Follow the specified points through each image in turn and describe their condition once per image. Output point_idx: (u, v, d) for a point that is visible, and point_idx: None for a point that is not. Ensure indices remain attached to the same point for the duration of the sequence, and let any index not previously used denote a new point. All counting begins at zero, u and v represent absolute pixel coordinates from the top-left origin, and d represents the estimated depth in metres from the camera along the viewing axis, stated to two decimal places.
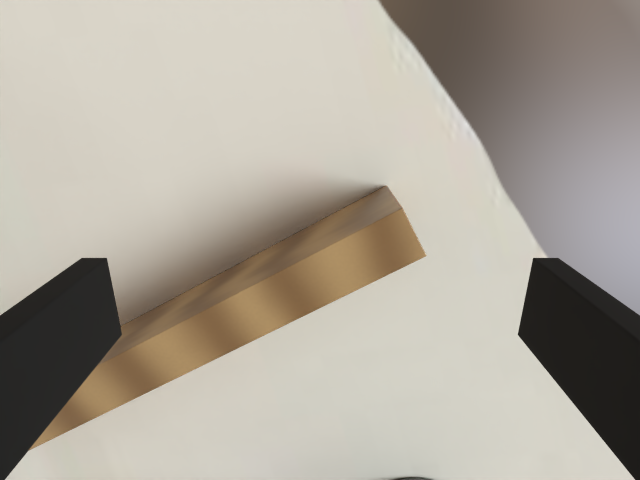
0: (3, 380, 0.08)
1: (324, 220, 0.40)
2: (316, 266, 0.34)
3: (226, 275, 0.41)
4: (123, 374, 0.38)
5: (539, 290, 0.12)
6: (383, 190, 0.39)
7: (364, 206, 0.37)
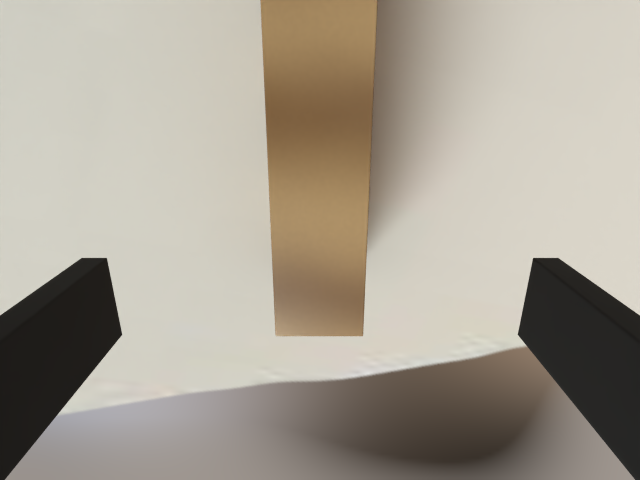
0: (3, 380, 0.08)
1: None
2: (344, 182, 0.19)
3: None
4: None
5: (539, 290, 0.12)
6: None
7: None
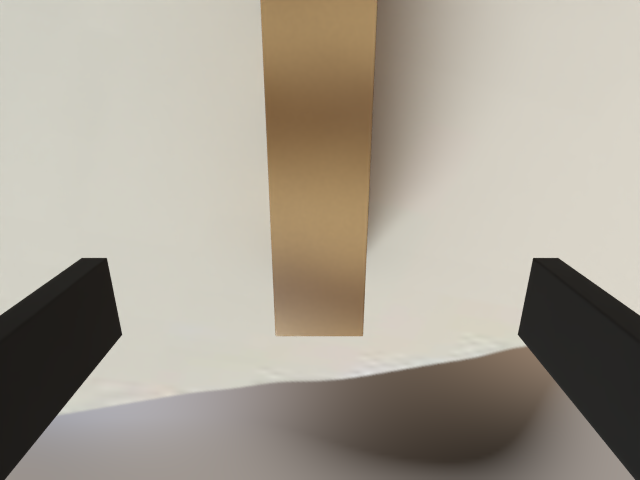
0: (3, 380, 0.08)
1: None
2: (344, 182, 0.19)
3: None
4: None
5: (539, 290, 0.12)
6: None
7: None
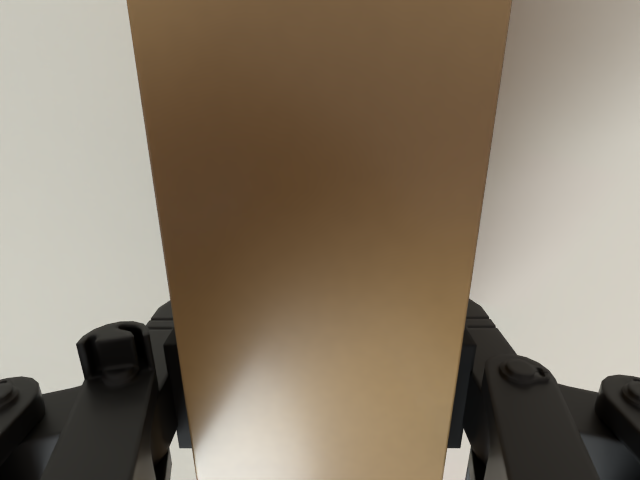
0: None
1: None
2: (391, 350, 0.07)
3: None
4: None
5: None
6: None
7: None
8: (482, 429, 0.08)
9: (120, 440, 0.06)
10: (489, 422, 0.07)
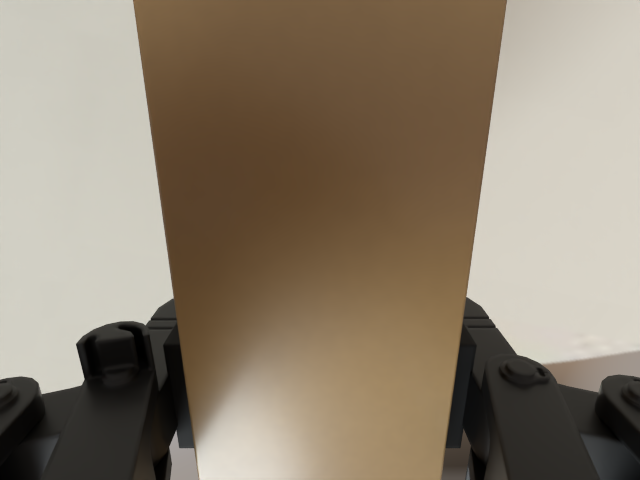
0: None
1: None
2: (391, 344, 0.07)
3: None
4: None
5: None
6: None
7: None
8: (482, 429, 0.08)
9: (120, 440, 0.06)
10: (489, 422, 0.07)
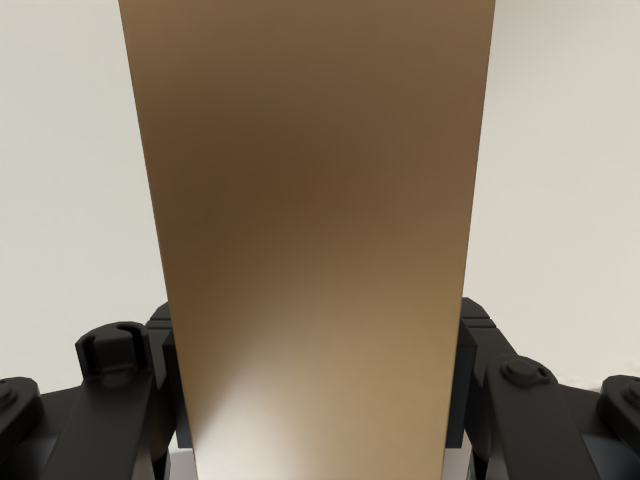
0: None
1: None
2: (388, 343, 0.07)
3: None
4: None
5: None
6: None
7: None
8: (483, 429, 0.08)
9: (119, 440, 0.06)
10: (490, 422, 0.07)
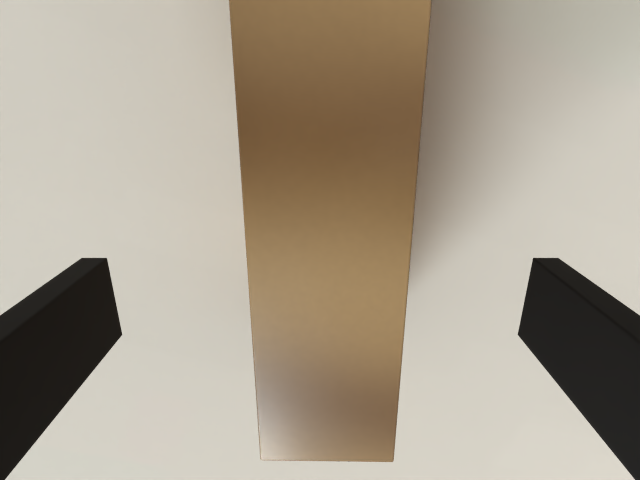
0: (3, 380, 0.08)
1: None
2: (371, 237, 0.11)
3: None
4: None
5: (539, 290, 0.12)
6: None
7: None
8: None
9: None
10: None
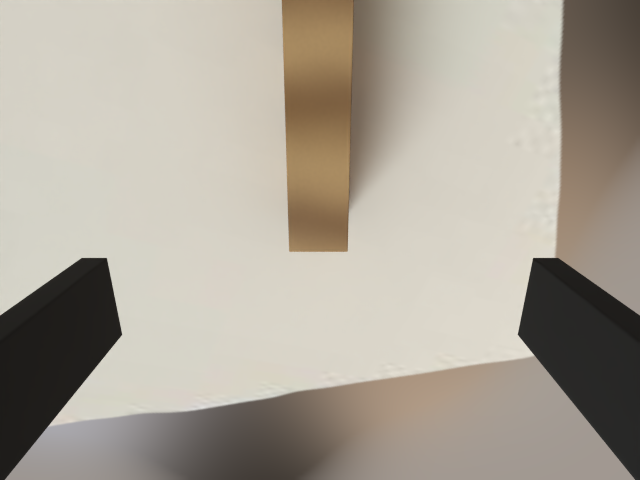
0: (3, 380, 0.08)
1: None
2: (334, 145, 0.30)
3: None
4: None
5: (539, 290, 0.12)
6: None
7: None
8: None
9: None
10: None
